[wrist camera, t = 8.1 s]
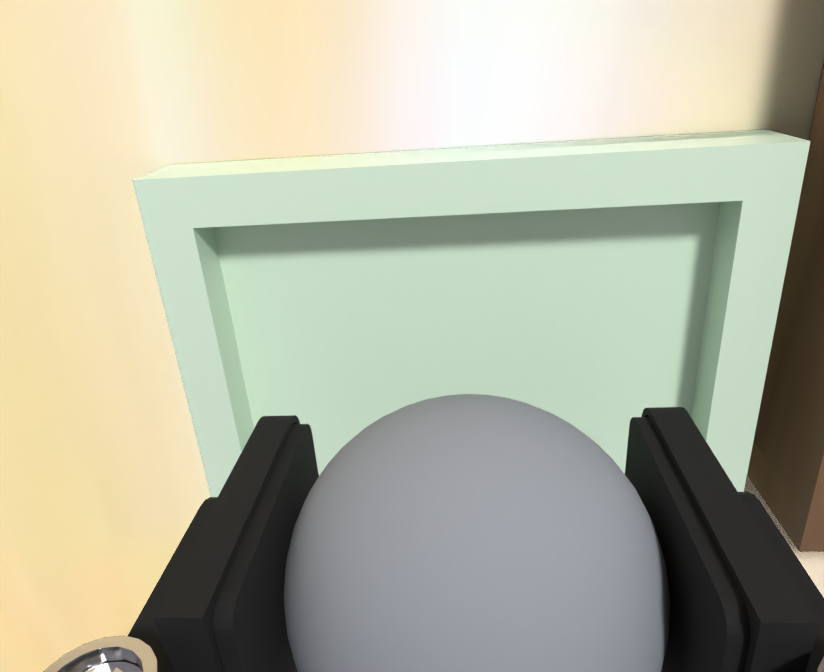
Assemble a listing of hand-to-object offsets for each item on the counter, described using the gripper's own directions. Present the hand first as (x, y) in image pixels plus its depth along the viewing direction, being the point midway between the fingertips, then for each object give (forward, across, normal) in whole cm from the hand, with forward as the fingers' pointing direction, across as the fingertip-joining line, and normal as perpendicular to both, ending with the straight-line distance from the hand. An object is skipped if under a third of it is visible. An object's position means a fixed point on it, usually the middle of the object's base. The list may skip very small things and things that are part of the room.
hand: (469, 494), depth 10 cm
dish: (+3, 0, 0) cm, 3 cm away
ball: (-2, 0, 0) cm, 2 cm away
